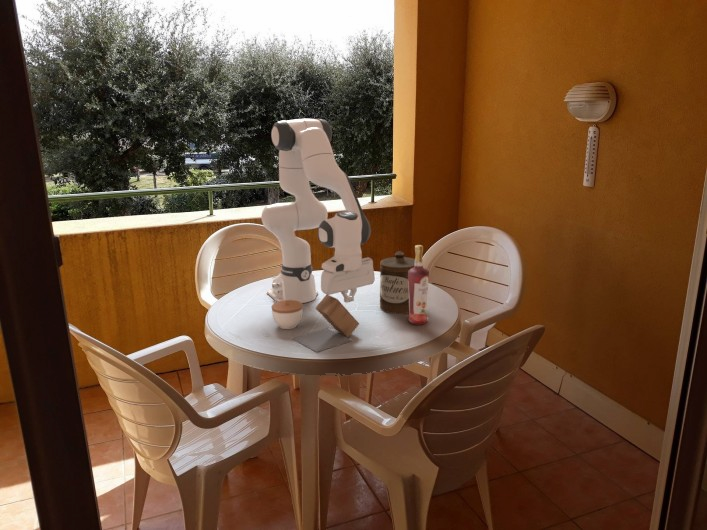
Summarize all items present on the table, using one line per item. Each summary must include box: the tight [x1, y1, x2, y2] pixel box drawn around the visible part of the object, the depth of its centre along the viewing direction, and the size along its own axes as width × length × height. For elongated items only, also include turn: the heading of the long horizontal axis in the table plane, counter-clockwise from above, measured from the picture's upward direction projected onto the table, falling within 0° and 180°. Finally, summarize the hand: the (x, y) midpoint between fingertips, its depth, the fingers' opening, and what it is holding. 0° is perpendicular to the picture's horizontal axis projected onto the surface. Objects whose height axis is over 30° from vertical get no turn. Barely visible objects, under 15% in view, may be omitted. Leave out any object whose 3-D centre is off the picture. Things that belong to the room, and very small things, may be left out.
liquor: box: [407, 244, 430, 326], centre depth 194 cm, size 7×7×28 cm
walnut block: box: [315, 294, 360, 339], centre depth 185 cm, size 6×6×14 cm
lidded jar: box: [271, 300, 303, 330], centre depth 195 cm, size 11×11×9 cm
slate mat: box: [292, 327, 353, 353], centre depth 184 cm, size 14×14×1 cm
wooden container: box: [379, 251, 415, 315], centre depth 210 cm, size 15×15×22 cm
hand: (348, 301), depth 186 cm, fingers closed
